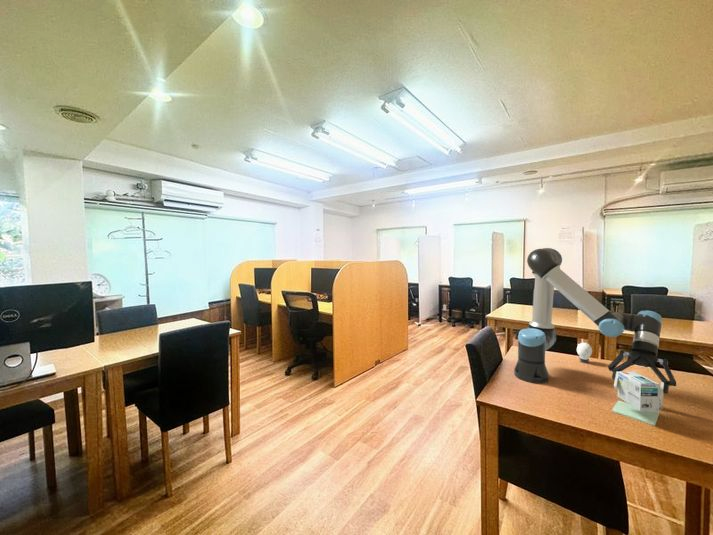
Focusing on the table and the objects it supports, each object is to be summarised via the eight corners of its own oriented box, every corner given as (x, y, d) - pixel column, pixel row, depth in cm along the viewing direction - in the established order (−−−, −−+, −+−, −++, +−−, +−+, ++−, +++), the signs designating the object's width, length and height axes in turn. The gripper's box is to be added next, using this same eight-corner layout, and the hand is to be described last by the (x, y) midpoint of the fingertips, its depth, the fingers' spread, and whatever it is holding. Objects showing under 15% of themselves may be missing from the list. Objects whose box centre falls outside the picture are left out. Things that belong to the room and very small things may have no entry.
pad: (611, 411, 114) (611, 410, 114) (618, 401, 121) (618, 400, 121) (654, 425, 105) (655, 424, 105) (659, 414, 112) (659, 412, 112)
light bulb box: (659, 411, 106) (661, 383, 105) (640, 411, 106) (641, 383, 105) (634, 396, 116) (635, 370, 115) (616, 396, 117) (617, 370, 116)
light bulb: (590, 360, 162) (591, 341, 161) (592, 365, 156) (593, 345, 156) (575, 358, 166) (576, 340, 165) (577, 362, 160) (577, 343, 159)
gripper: (689, 357, 111) (684, 410, 103) (608, 342, 130) (598, 386, 122) (689, 347, 107) (684, 401, 99) (605, 333, 126) (595, 378, 118)
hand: (636, 393), depth 110 cm, fingers closed on light bulb box, 12 cm apart
